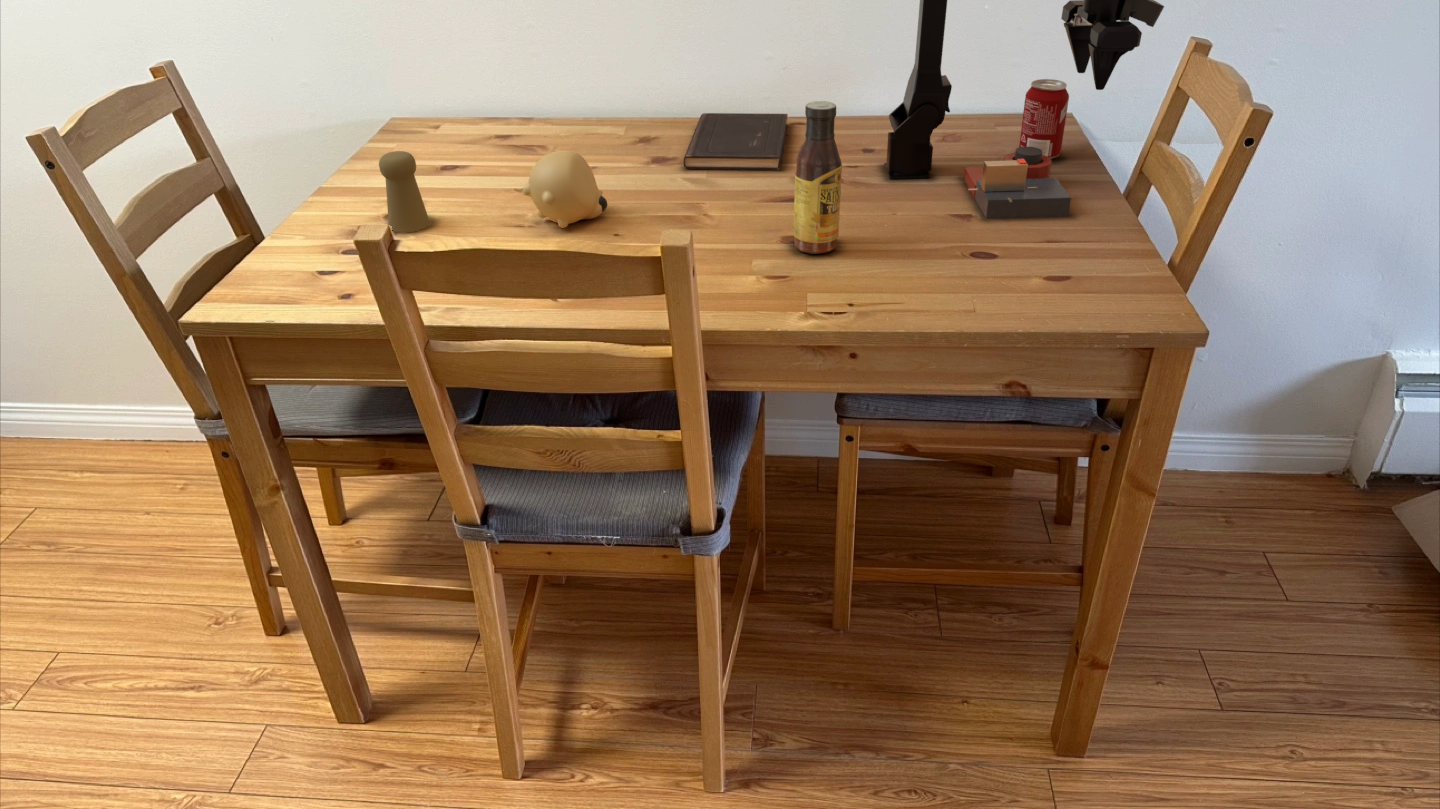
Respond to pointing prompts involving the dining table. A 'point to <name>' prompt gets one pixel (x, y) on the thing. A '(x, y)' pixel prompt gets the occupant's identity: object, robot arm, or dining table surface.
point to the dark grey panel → (1025, 200)
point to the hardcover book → (737, 142)
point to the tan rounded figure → (564, 188)
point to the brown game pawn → (403, 193)
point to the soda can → (1045, 116)
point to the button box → (1032, 171)
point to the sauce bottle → (818, 182)
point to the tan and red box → (1004, 175)
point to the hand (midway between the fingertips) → (1090, 81)
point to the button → (1029, 155)
